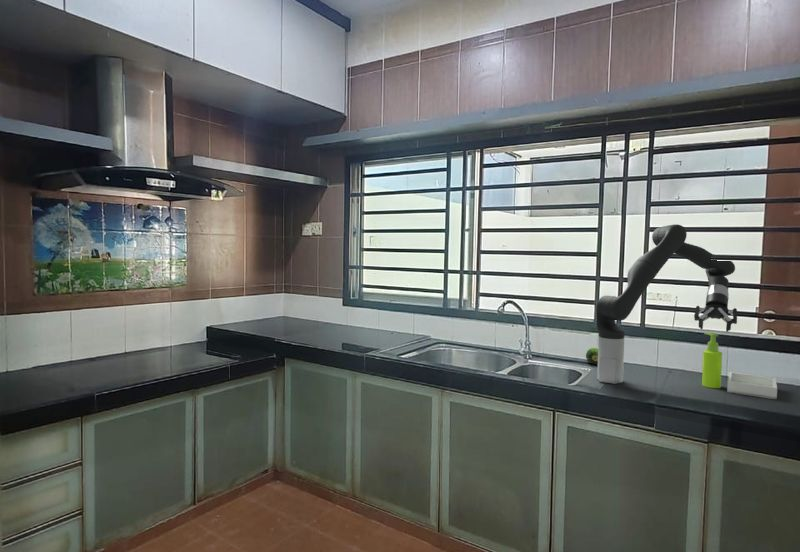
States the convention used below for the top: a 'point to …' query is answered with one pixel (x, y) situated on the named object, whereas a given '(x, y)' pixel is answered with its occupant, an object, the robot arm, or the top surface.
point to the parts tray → (752, 385)
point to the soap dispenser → (712, 364)
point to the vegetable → (592, 355)
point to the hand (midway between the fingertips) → (714, 329)
